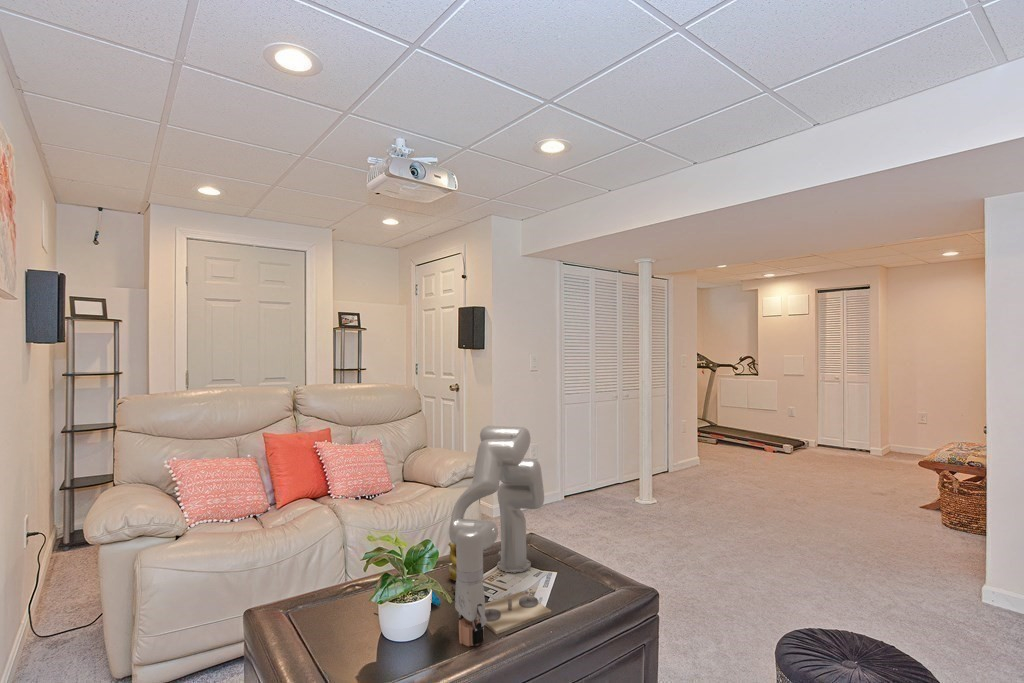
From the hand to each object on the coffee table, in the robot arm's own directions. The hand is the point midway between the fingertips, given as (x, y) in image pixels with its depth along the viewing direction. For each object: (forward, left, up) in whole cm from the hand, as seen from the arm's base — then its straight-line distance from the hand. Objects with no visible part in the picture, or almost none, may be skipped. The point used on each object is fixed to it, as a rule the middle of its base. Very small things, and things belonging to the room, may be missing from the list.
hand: (471, 636), depth 148 cm
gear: (-26, -1, -1) cm, 26 cm away
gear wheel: (0, 0, -1) cm, 1 cm away
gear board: (-6, +17, -1) cm, 18 cm away
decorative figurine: (-35, +16, -1) cm, 38 cm away
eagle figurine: (-20, +8, -1) cm, 22 cm away
